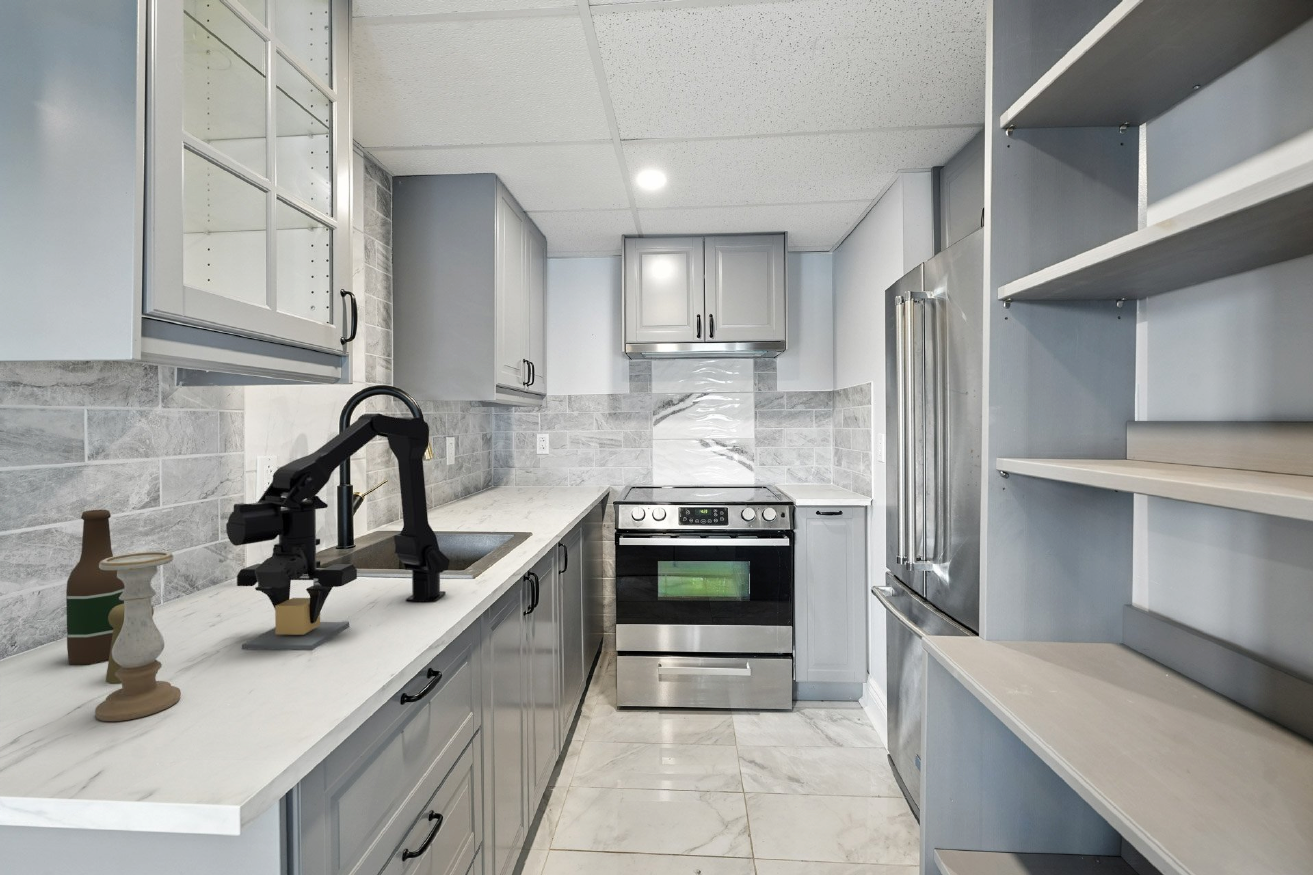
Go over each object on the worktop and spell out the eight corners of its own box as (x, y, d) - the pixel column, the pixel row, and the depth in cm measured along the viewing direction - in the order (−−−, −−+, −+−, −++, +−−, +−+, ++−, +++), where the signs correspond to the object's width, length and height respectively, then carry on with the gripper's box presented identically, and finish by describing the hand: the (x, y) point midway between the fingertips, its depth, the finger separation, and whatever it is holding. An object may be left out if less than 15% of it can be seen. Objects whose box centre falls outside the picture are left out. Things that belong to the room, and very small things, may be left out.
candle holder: (196, 697, 84) (194, 552, 84) (123, 727, 76) (120, 566, 76) (153, 688, 87) (151, 548, 87) (78, 716, 79) (76, 561, 79)
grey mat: (286, 625, 115) (286, 621, 115) (349, 626, 115) (349, 621, 115) (241, 648, 103) (241, 644, 103) (311, 649, 103) (311, 645, 103)
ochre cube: (293, 624, 111) (293, 597, 111) (320, 624, 111) (319, 597, 111) (275, 634, 106) (275, 605, 106) (303, 634, 106) (303, 606, 106)
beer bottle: (78, 651, 101) (76, 508, 101) (137, 645, 104) (135, 506, 104) (54, 669, 94) (52, 515, 94) (118, 661, 97) (116, 512, 97)
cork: (97, 678, 91) (96, 605, 90) (146, 664, 96) (145, 595, 96) (116, 686, 88) (115, 611, 88) (166, 671, 93) (165, 600, 93)
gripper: (212, 544, 100) (213, 637, 101) (323, 545, 100) (324, 639, 100) (257, 532, 112) (258, 616, 112) (358, 533, 111) (358, 617, 112)
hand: (298, 622), depth 109 cm, fingers closed on ochre cube, 5 cm apart
